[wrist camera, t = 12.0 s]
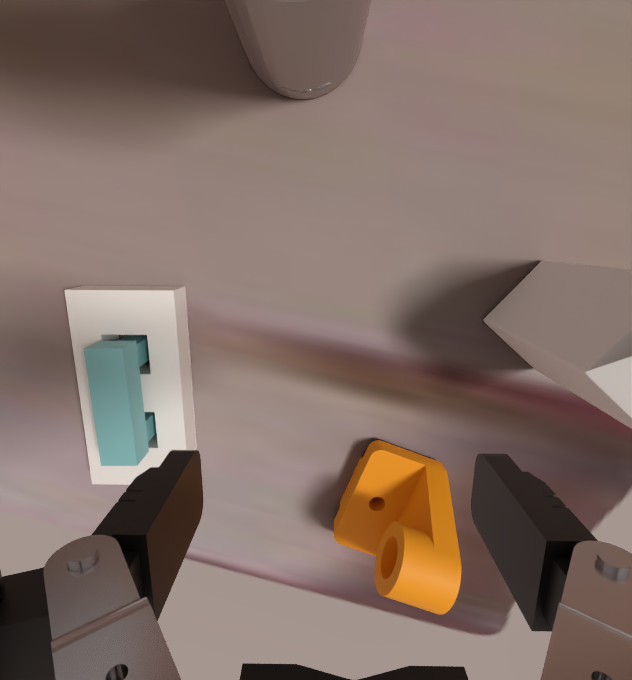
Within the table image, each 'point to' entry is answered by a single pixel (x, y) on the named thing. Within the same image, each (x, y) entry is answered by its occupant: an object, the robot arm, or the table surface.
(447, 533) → the bracket
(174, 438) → the white slotted board
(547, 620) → the robot arm
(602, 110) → the table surface
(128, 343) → the teal block
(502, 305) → the milk carton
